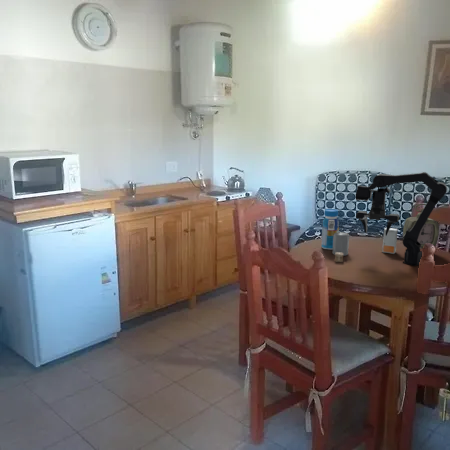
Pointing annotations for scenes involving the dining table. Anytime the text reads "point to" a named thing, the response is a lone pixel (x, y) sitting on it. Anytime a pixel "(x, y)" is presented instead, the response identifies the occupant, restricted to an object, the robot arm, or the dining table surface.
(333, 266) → the dining table surface
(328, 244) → the beverage bottle
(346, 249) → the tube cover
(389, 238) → the skincare box
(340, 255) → the taped cardboard box
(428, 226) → the tabletop clock
